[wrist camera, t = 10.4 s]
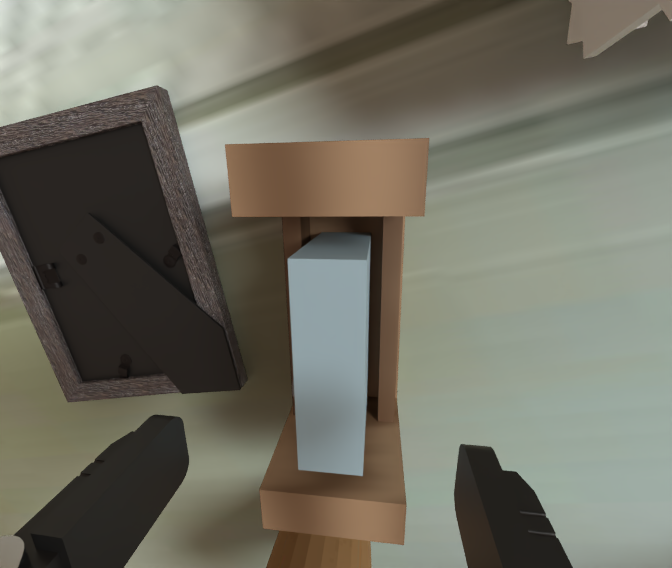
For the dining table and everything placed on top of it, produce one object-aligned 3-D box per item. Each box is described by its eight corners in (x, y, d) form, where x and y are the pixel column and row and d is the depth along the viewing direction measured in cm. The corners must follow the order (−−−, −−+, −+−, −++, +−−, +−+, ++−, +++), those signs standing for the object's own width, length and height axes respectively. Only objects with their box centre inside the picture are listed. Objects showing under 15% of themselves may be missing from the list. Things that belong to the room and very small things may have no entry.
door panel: (371, 232, 20) (366, 260, 12) (367, 378, 22) (362, 475, 15) (309, 232, 20) (267, 258, 12) (313, 375, 23) (281, 468, 15)
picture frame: (249, 375, 27) (172, 92, 21) (240, 390, 25) (152, 83, 19) (83, 391, 29) (-23, 143, 24) (62, 405, 27) (-58, 139, 22)
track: (404, 162, 20) (429, 138, 11) (393, 410, 25) (403, 545, 16) (294, 165, 21) (225, 144, 11) (305, 404, 26) (263, 528, 16)
